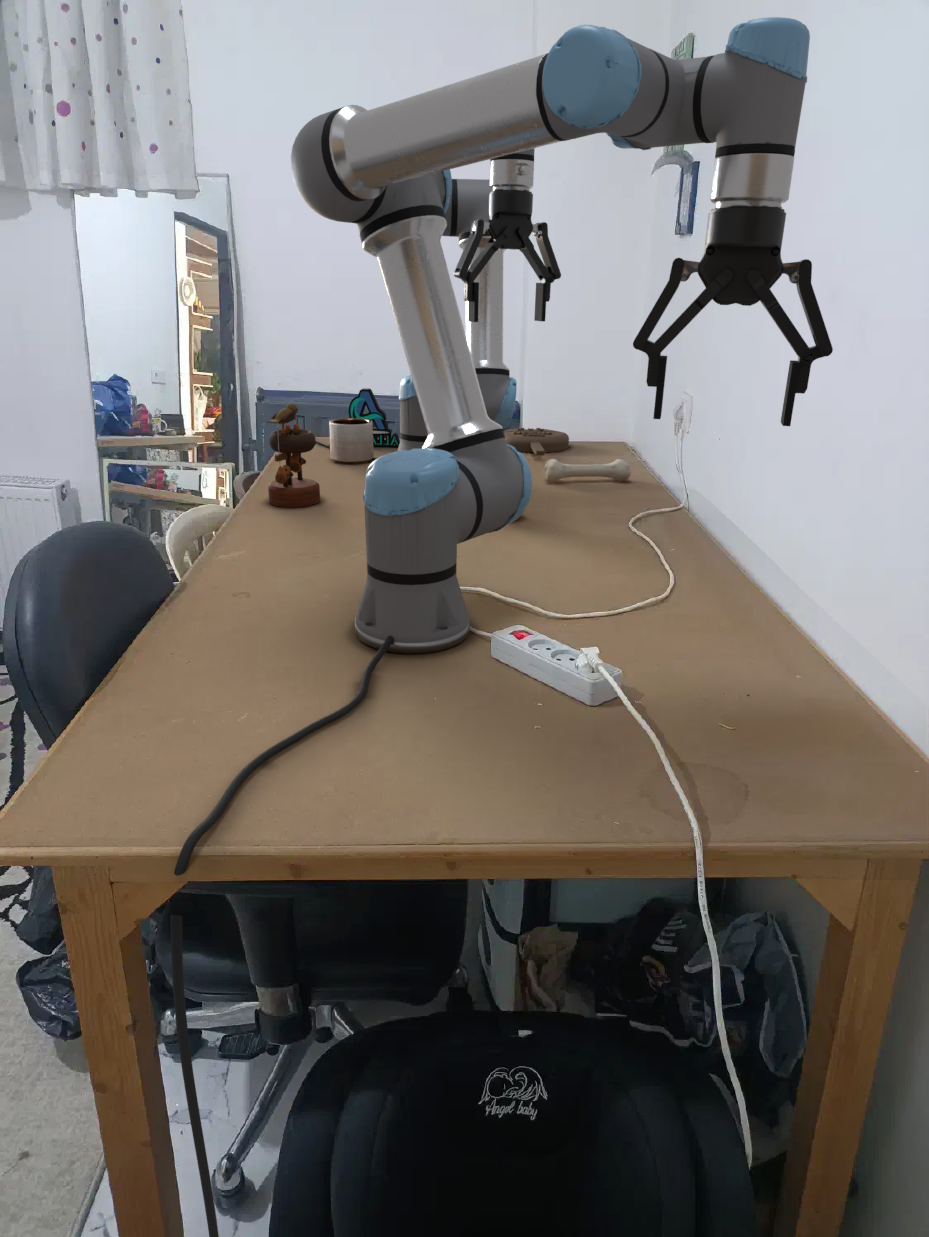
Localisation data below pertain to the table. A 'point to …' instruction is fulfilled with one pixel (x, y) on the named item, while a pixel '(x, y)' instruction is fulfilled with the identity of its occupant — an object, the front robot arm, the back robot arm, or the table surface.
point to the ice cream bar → (536, 440)
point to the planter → (351, 440)
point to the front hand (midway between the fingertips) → (720, 421)
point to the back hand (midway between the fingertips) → (506, 321)
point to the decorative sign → (373, 418)
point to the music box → (291, 462)
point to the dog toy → (587, 470)
